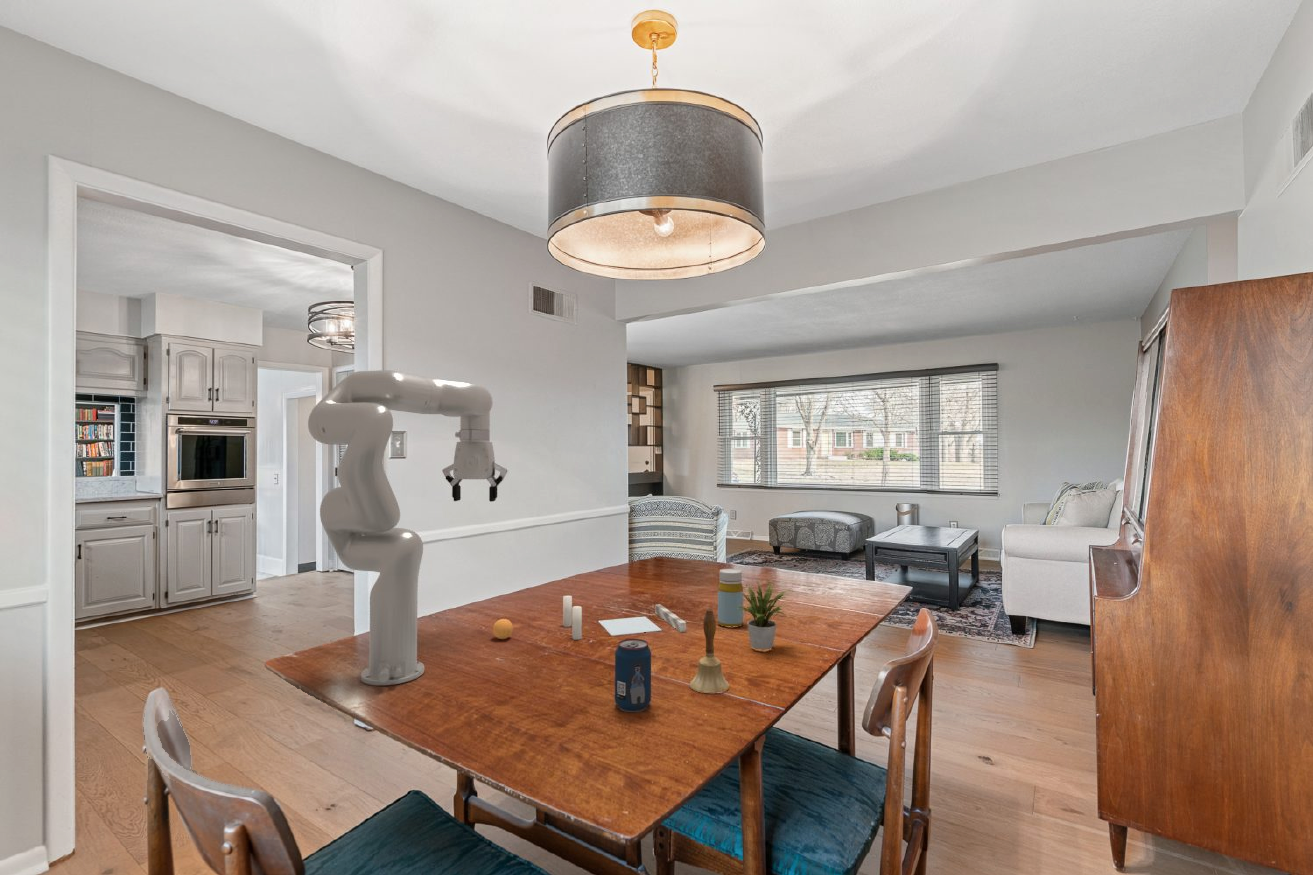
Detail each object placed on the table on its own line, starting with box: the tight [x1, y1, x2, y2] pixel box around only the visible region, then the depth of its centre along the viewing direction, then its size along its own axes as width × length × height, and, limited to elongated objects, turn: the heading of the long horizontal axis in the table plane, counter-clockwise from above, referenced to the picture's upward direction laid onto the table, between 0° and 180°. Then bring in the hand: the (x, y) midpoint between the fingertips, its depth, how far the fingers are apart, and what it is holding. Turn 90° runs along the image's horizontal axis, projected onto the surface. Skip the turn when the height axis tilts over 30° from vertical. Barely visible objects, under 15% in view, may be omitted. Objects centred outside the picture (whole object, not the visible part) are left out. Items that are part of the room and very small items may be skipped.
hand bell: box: [689, 608, 730, 694], centre depth 129 cm, size 8×8×16 cm
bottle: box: [717, 568, 744, 627], centre depth 173 cm, size 7×7×15 cm
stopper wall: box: [654, 603, 687, 633], centre depth 175 cm, size 20×2×2 cm, turn 20°
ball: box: [492, 618, 514, 640], centre depth 159 cm, size 5×5×5 cm
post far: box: [562, 595, 573, 628], centre depth 171 cm, size 2×2×8 cm
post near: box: [571, 605, 583, 641], centre depth 160 cm, size 2×2×8 cm
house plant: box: [737, 581, 792, 650], centre depth 151 cm, size 14×14×16 cm
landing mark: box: [597, 616, 663, 637], centre depth 171 cm, size 14×14×1 cm
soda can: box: [614, 638, 652, 713], centre depth 119 cm, size 7×7×12 cm
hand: (474, 500), depth 165 cm, fingers open, 9 cm apart
